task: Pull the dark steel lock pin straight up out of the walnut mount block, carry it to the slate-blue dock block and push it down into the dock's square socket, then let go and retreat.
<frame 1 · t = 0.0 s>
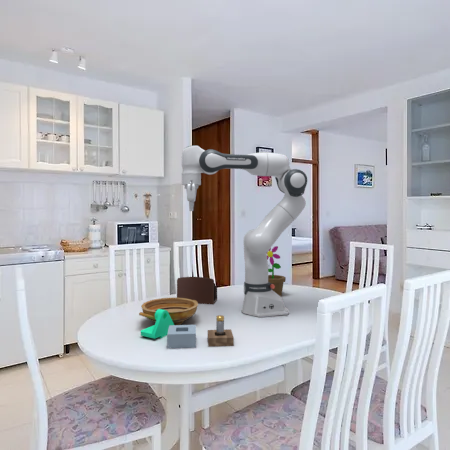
hand: (191, 211, 171), 48 cm above the table, fingers open, 8 cm apart
dock: (182, 342, 135), on the table
flowerpot: (272, 295, 210), on the table
lock pin: (220, 329, 136), in the pin mount
letter holder: (197, 302, 195), on the table
camera mount: (157, 335, 144), on the table
pin mount: (220, 341, 136), on the table
ceramic bowl: (170, 322, 159), on the table
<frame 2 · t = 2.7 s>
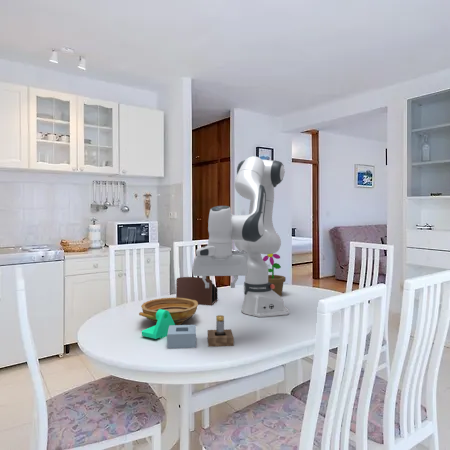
hand: (220, 287, 135), 20 cm above the table, fingers open, 8 cm apart
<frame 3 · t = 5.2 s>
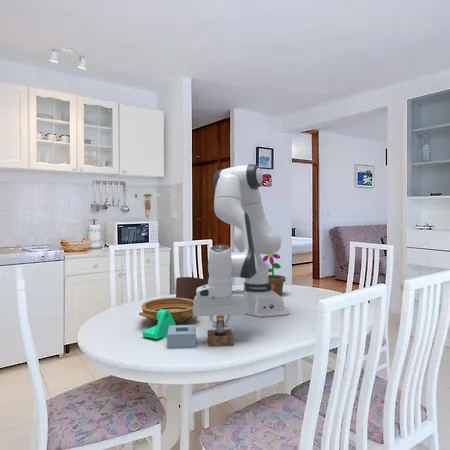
hand: (220, 326, 136), 6 cm above the table, fingers closed on lock pin, 3 cm apart
lock pin: (220, 329, 136), in the pin mount, touching gripper
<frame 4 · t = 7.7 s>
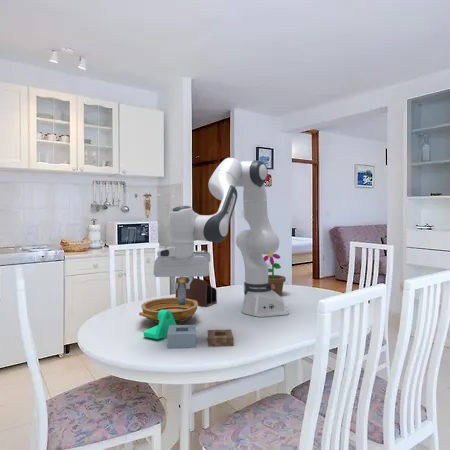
hand: (181, 288, 134), 20 cm above the table, fingers closed on lock pin, 3 cm apart
lock pin: (181, 291, 134), point 19 cm above the table, touching gripper
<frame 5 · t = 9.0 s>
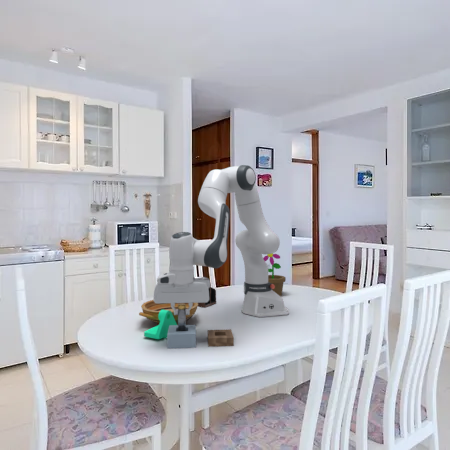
hand: (181, 314, 134), 10 cm above the table, fingers closed on lock pin, 3 cm apart
lock pin: (181, 317, 134), point 10 cm above the table, touching gripper
when the fingers open (7 cm above the table, at t = 10.3 s): lock pin drops 1 cm, resting in dock.
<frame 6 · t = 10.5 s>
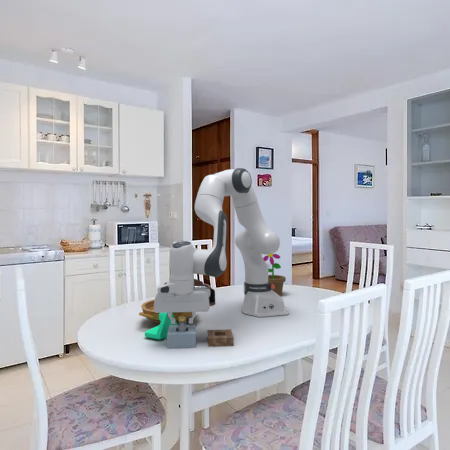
hand: (182, 323, 135), 7 cm above the table, fingers open, 5 cm apart
lock pin: (182, 330, 135), in the dock
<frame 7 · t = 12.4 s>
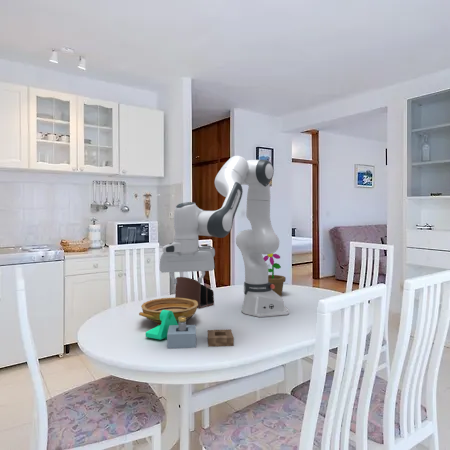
hand: (187, 283, 137), 21 cm above the table, fingers open, 8 cm apart
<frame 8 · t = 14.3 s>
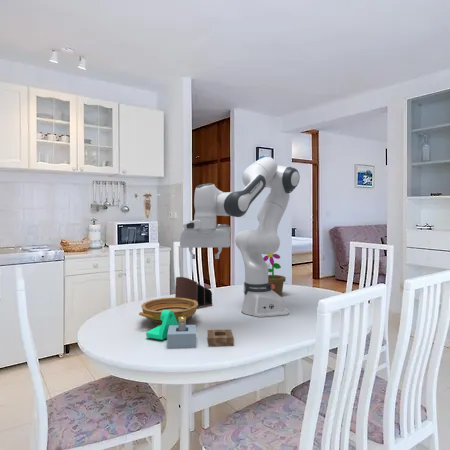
hand: (205, 258, 147), 29 cm above the table, fingers open, 8 cm apart
at the end: lock pin 0.1 cm off-centre on the dock, point 4.7 cm above the dock's base; lock pin tilted 0°; the gripper is holding nothing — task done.
